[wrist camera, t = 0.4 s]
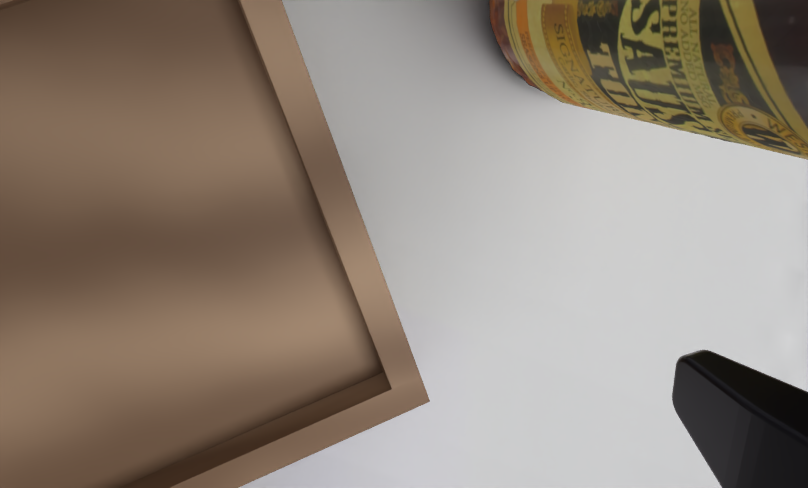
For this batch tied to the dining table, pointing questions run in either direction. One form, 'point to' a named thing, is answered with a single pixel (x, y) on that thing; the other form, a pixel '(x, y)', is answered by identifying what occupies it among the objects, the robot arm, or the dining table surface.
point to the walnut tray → (178, 252)
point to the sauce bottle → (670, 62)
